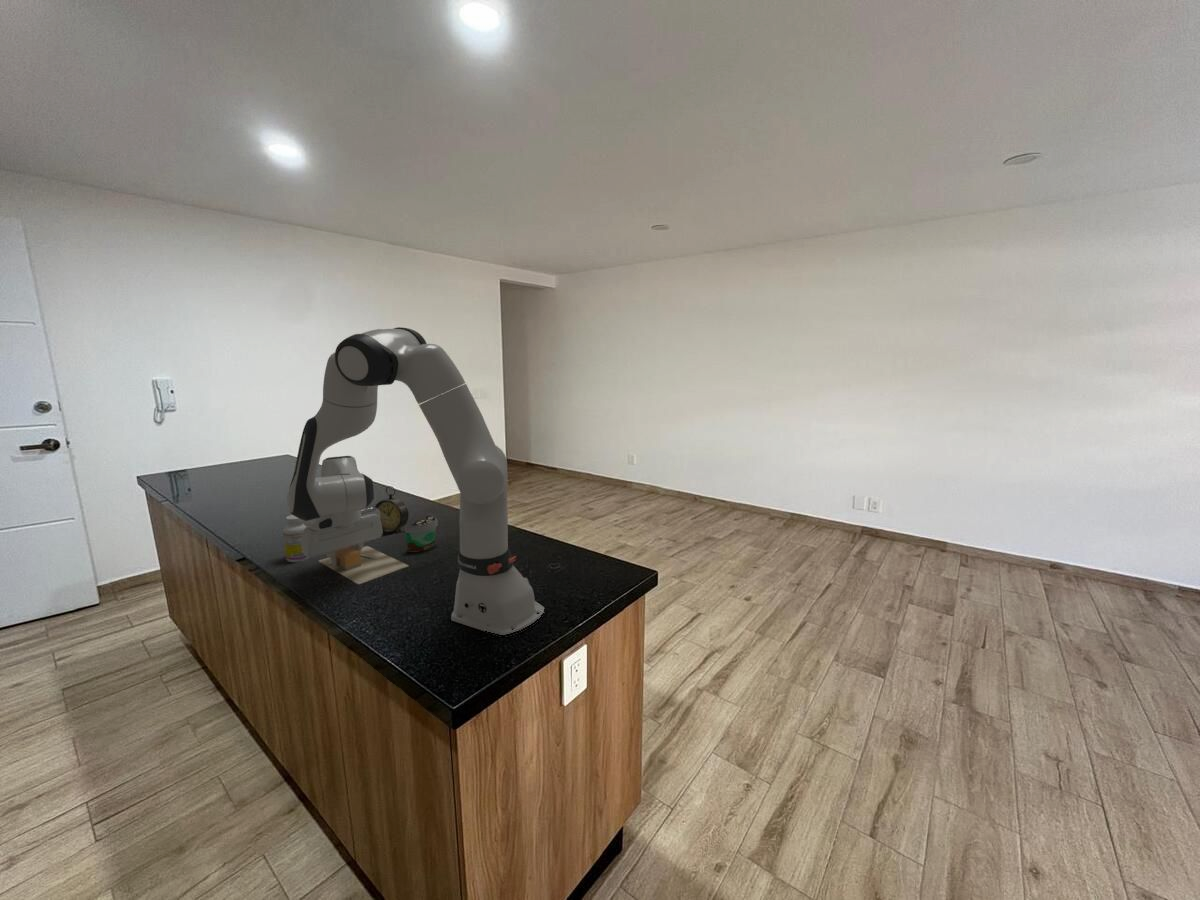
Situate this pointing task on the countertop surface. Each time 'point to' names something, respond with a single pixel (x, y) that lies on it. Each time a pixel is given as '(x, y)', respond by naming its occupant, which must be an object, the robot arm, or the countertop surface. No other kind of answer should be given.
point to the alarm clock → (392, 513)
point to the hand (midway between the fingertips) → (346, 561)
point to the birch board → (368, 566)
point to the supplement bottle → (294, 539)
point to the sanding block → (348, 558)
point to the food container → (421, 534)
